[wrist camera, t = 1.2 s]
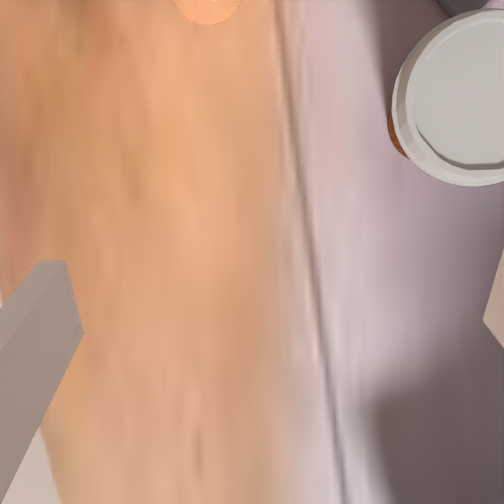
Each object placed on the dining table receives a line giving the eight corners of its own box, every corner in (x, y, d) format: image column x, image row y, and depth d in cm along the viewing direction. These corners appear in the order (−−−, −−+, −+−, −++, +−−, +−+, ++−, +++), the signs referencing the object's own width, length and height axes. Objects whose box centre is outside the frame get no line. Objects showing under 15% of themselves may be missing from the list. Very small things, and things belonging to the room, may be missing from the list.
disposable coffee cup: (366, 183, 36) (394, 189, 25) (368, 62, 35) (398, 7, 23) (487, 180, 35) (577, 184, 23) (495, 54, 33) (595, -9, 22)
